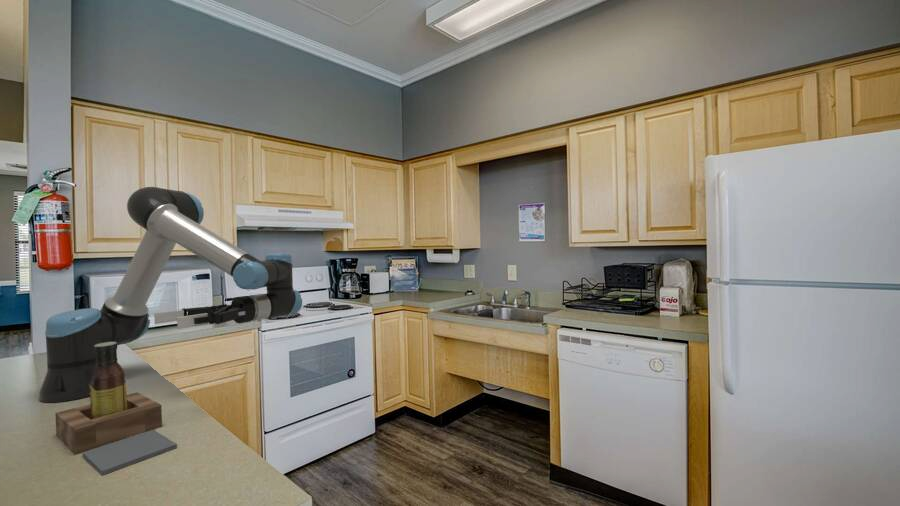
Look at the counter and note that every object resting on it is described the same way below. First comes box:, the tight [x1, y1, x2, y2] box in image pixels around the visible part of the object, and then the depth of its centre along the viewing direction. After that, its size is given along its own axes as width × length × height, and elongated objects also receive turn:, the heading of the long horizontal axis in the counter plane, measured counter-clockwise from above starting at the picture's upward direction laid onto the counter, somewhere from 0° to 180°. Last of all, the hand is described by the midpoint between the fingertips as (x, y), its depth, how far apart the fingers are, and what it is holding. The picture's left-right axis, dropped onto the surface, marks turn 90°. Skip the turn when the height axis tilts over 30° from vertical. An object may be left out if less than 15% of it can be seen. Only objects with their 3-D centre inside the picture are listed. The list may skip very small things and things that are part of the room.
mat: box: [82, 429, 178, 476], centre depth 82 cm, size 12×12×1 cm
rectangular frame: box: [55, 391, 163, 455], centre depth 92 cm, size 15×15×5 cm
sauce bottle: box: [89, 342, 128, 419], centre depth 92 cm, size 7×6×20 cm
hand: (165, 320), depth 101 cm, fingers open, 13 cm apart
